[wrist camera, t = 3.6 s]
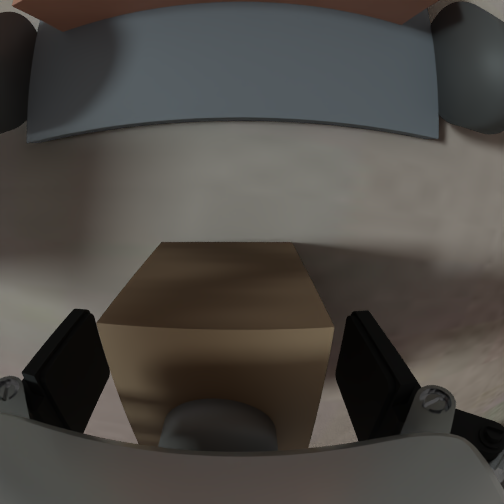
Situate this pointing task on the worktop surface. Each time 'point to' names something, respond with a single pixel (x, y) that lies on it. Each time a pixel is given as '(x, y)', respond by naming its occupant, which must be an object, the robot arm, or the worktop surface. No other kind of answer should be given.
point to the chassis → (250, 65)
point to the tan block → (219, 347)
